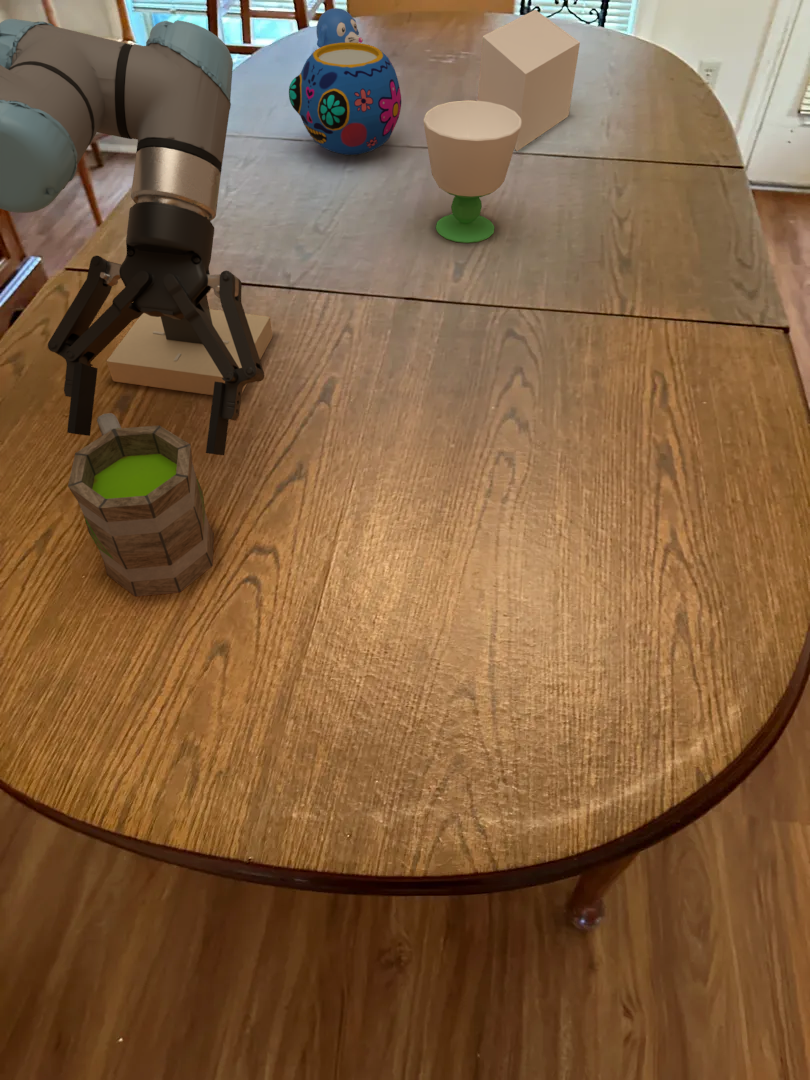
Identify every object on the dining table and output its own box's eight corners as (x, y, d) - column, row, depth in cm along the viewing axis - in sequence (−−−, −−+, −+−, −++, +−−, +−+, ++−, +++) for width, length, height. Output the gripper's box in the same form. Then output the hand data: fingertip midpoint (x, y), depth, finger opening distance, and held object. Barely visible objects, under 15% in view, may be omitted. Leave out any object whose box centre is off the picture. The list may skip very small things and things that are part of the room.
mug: (234, 570, 76) (212, 481, 67) (123, 615, 72) (84, 527, 63) (180, 471, 85) (154, 381, 76) (79, 506, 81) (39, 416, 72)
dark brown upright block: (166, 339, 95) (150, 278, 89) (172, 330, 97) (157, 269, 90) (209, 345, 95) (196, 283, 89) (215, 335, 96) (202, 274, 90)
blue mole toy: (342, 70, 164) (340, 24, 158) (304, 56, 169) (300, 11, 163) (382, 56, 170) (382, 11, 163) (344, 43, 175) (342, -2, 169)
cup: (422, 251, 116) (425, 139, 104) (418, 207, 125) (420, 100, 113) (515, 251, 116) (528, 139, 104) (504, 207, 125) (515, 99, 113)
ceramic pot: (281, 146, 139) (270, 51, 128) (357, 120, 147) (354, 28, 136) (343, 180, 131) (338, 81, 119) (421, 150, 139) (423, 55, 127)
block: (467, 147, 140) (473, 70, 130) (484, 76, 162) (490, 6, 153) (566, 155, 138) (579, 77, 129) (569, 82, 161) (580, 12, 151)
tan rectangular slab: (112, 381, 95) (105, 359, 92) (156, 321, 103) (150, 300, 101) (239, 399, 93) (234, 377, 90) (272, 336, 101) (269, 315, 99)
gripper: (315, 240, 74) (285, 464, 76) (69, 214, 77) (46, 429, 79) (293, 212, 67) (261, 461, 68) (22, 184, 70) (-2, 422, 71)
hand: (146, 444), depth 73 cm, fingers open, 13 cm apart
